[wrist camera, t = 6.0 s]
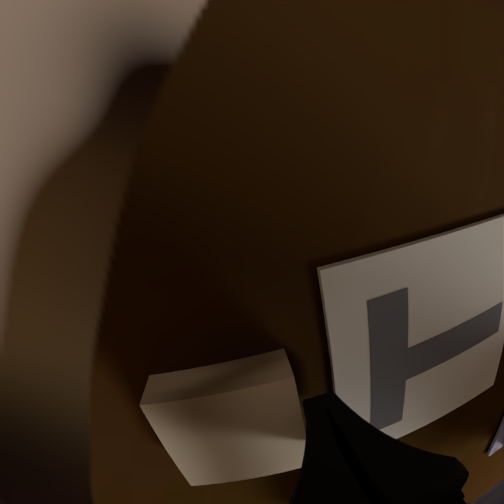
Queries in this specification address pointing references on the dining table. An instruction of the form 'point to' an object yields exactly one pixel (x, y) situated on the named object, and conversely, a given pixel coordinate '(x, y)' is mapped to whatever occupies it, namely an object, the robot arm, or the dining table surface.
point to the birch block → (229, 418)
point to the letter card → (416, 325)
